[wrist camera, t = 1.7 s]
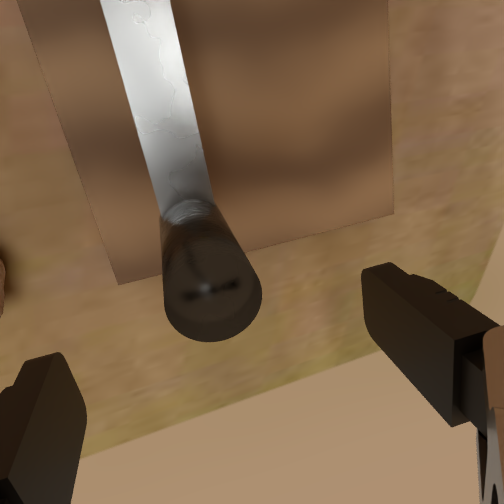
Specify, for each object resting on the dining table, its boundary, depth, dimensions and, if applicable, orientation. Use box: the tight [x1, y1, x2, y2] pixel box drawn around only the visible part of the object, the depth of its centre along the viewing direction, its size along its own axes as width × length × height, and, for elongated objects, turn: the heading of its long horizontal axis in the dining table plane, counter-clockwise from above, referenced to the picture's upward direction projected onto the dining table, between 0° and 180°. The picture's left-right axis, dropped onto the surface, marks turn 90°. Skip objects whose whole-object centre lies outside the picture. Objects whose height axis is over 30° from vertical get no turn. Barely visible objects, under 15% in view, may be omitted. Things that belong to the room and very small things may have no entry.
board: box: [17, 0, 394, 285], centre depth 18 cm, size 26×18×6 cm
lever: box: [100, 0, 262, 342], centre depth 13 cm, size 19×4×8 cm, turn 10°
